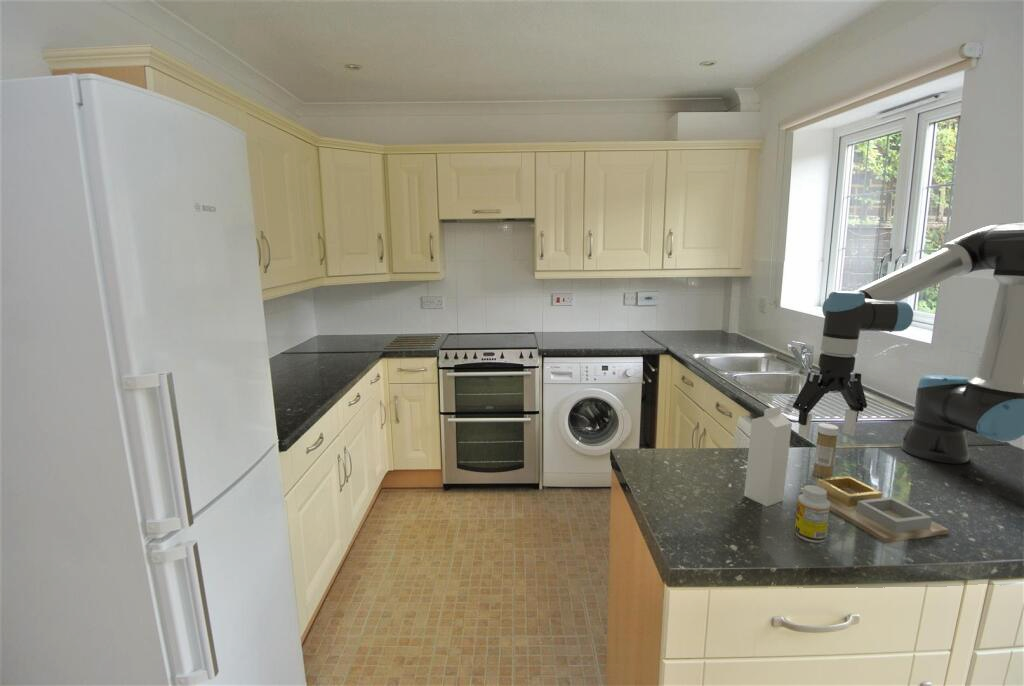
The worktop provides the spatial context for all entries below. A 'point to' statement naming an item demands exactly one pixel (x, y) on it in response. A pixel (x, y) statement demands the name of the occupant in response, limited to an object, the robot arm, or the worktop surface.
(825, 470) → the sprinkles bottle
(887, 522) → the grey socket collar
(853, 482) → the brass socket collar
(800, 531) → the supplement bottle
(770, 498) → the milk
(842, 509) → the birch socket board
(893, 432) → the worktop surface
